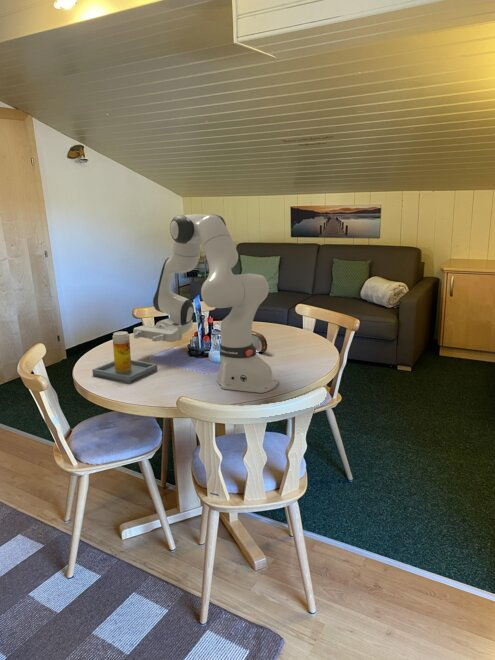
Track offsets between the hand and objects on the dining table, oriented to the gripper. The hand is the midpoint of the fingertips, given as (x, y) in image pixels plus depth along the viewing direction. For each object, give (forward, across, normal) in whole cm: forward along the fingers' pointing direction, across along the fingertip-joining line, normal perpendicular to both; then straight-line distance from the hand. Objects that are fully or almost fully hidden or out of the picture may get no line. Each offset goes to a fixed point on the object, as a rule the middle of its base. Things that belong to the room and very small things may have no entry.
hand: (144, 338), depth 193 cm
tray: (+12, 0, +11) cm, 16 cm away
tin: (-37, +31, +11) cm, 50 cm away
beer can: (+13, 0, +10) cm, 16 cm away
